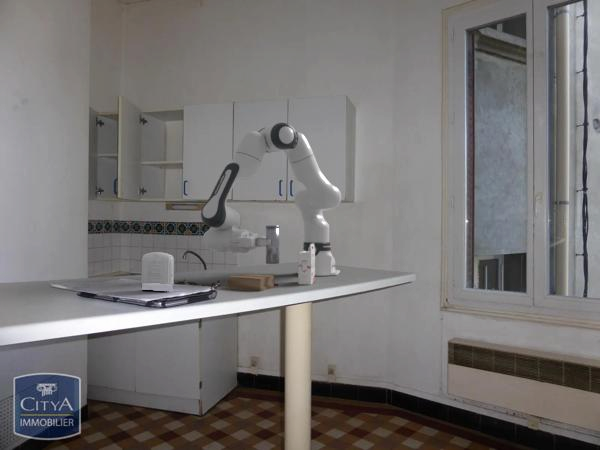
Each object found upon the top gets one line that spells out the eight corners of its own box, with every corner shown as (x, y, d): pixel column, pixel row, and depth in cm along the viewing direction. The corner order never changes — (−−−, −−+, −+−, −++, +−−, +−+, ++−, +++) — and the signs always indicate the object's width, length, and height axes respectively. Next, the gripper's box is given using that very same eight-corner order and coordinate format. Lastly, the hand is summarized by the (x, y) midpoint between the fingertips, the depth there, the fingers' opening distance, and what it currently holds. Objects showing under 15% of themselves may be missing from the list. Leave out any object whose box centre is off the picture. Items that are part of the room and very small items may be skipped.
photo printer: (175, 290, 137) (176, 252, 137) (168, 292, 133) (169, 252, 133) (146, 289, 139) (146, 251, 139) (138, 291, 135) (139, 252, 135)
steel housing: (269, 262, 163) (269, 225, 163) (281, 263, 161) (281, 225, 161) (263, 263, 158) (263, 225, 158) (275, 264, 156) (275, 225, 156)
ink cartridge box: (302, 281, 164) (302, 243, 164) (315, 282, 163) (315, 243, 163) (297, 284, 156) (298, 243, 156) (311, 285, 155) (311, 244, 155)
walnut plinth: (243, 285, 152) (243, 273, 152) (273, 287, 148) (273, 275, 148) (228, 288, 143) (228, 276, 143) (260, 291, 138) (260, 278, 138)
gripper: (227, 233, 155) (261, 233, 150) (254, 232, 174) (285, 232, 169) (227, 251, 155) (261, 252, 150) (254, 248, 174) (285, 248, 169)
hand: (274, 241), depth 160 cm, fingers closed on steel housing, 5 cm apart
